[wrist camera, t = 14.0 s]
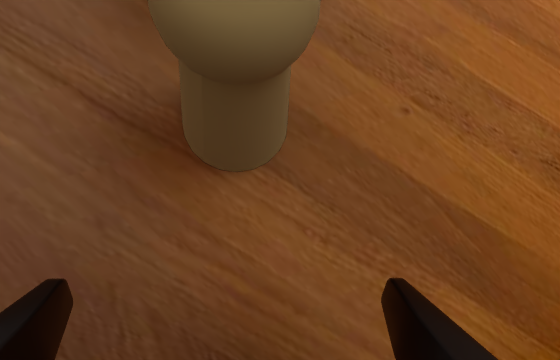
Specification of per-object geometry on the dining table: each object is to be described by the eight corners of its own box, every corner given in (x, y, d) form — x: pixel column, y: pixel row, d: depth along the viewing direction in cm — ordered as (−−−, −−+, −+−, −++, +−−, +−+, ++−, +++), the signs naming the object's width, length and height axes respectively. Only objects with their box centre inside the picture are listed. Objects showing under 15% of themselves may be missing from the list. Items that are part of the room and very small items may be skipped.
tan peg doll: (245, 57, 20) (257, -170, 9) (307, 132, 19) (395, -22, 9) (160, 110, 19) (60, -93, 8) (224, 193, 18) (209, 93, 7)
